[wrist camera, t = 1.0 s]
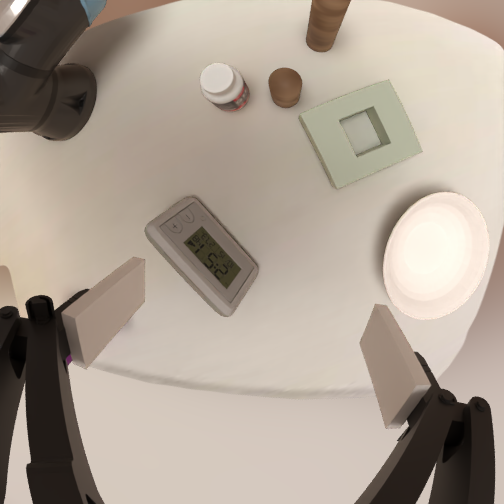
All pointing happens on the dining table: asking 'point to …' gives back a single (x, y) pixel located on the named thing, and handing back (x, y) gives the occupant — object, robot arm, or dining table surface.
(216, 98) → the pill bottle
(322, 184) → the dining table surface
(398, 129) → the hole board
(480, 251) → the bowl
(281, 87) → the short dowel
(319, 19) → the long dowel
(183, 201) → the digital clock
